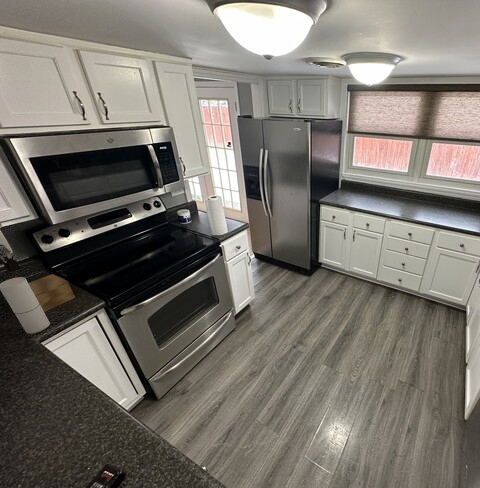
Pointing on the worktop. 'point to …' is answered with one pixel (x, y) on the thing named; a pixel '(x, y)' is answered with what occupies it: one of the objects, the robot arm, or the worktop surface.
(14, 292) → the cylindrical container
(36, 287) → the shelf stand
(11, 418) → the worktop surface
